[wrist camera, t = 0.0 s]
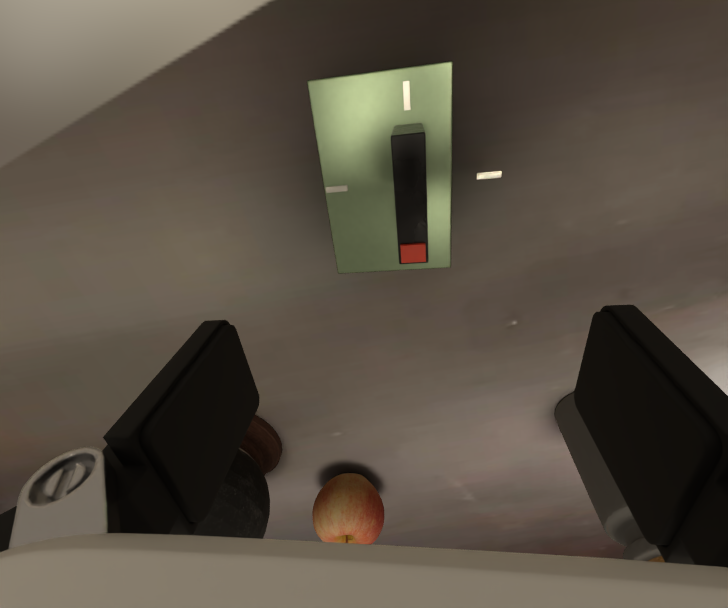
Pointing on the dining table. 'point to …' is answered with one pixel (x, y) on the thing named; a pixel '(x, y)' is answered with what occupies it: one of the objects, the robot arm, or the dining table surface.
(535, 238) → the dining table surface
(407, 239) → the black block
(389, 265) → the clamp panel
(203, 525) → the black ball on stand
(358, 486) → the apple
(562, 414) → the bottle
